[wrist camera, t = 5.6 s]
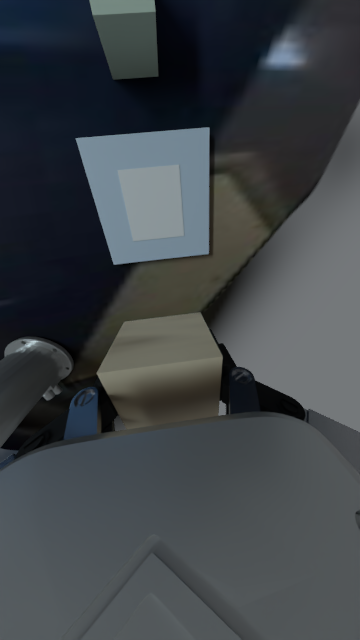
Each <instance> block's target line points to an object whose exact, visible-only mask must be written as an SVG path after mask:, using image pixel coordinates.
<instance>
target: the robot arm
mask: <svg viewBox="0 0 360 640" xmlns="http://www.w3.org/2000/svg"><path fill="white" fill-rule="evenodd" d="M209 331H210V333H211V335H212V337H213V338H214V340H215V342H216V344H217V346H218V348H219V350H220V352H221V354H222V356H223V360H222V373H221V386H220V399H219V401H221V400H222V402H223V403H225V404H226V415H221V416H214V417H207V418H200V419H193V420H186V421H180V422H173V423H166V424H159V425H153V426H146V427H139V428H133V429H126V430H120V431H115V424H114V419H115V418H116V416H117V415H119V414H118V412H117V410H116V409H115V407H114V405H113V403H112V401H111V399H110V398H109V396H108V394H107V392H106V390H105V388H104V386H103V385H102V383H101V381H100V379H99V377H97V379H96V381H95V383H94V385H93V387H88V388H85V389H83V390H82V391H80V392H79V393H78V394H77V395H76V396H75V397H74V398H73V399H72V402H71V404H70V409H68V410H67V411H65V412H64V413H63V414H61V415H60V416H59V417H57V418H56V419H54V420H53V421H52V422H50V423H49V424H47V425H46V426H45V427H43V428H42V429H40V430H39V431H38V432H36V433H35V434H34V435H32V436H31V437H30V438H29V439H28V440H27V441H26V442H25V443H24V444H23V445H22V447H21V448H20V449H19V451H18V453H17V454H16V455H15V454H12V455H10V456H9V457H8V458H6V459H5V460H4V461H2V462H1V463H0V640H360V433H359V432H358V431H356V430H353V429H351V428H349V427H347V426H345V425H343V424H341V423H339V422H336V421H334V420H332V419H330V418H328V417H326V416H324V415H321V414H319V413H317V412H315V411H313V410H310V409H308V410H306V409H304V408H303V407H302V406H301V405H300V403H299V402H297V401H296V400H295V399H293V398H292V397H290V396H287V395H285V394H283V393H281V392H279V391H277V390H274V389H272V388H270V387H268V386H266V385H264V384H262V383H260V382H257V381H255V379H254V376H253V374H252V373H251V372H250V371H249V370H247V369H245V368H242V367H237V366H236V364H235V363H234V361H233V360H232V358H231V356H230V354H229V353H228V351H227V349H226V347H225V346H224V344H222V343H221V344H218V342H217V340H216V338H215V336H214V334H213V333H212V331H211V329H209ZM73 366H74V363H73V359H72V357H71V355H70V354H69V353H68V352H67V351H66V350H65V349H64V348H63V347H62V346H60V345H58V344H57V343H55V342H53V341H50V340H47V339H44V338H39V337H23V338H19V339H17V340H15V341H13V342H12V343H10V344H9V345H8V346H7V347H6V349H5V358H3V359H2V360H1V361H0V447H1V446H2V445H3V443H4V442H5V441H6V440H7V439H8V437H9V436H10V435H11V434H12V432H13V431H14V430H15V429H16V428H17V426H18V425H19V424H20V423H21V421H22V420H23V419H24V418H25V417H26V415H27V414H28V413H29V412H30V410H31V409H32V408H33V407H34V406H35V404H36V403H37V402H38V401H39V399H40V398H41V397H42V396H43V397H44V398H45V399H46V400H50V399H52V398H53V397H54V396H55V394H59V393H60V392H61V391H62V389H61V388H60V386H58V382H59V381H60V380H61V379H64V378H65V377H67V376H68V375H69V374H70V372H71V371H72V369H73Z"/></svg>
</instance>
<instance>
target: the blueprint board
mask: <svg viewBox="0 0 360 640" xmlns="http://www.w3.org/2000/svg"><path fill="white" fill-rule="evenodd" d="M76 141H77V145H78V148H79V151H80V154H81V158H82V161H83V164H84V168H85V171H86V174H87V178H88V181H89V184H90V187H91V191H92V194H93V197H94V201H95V204H96V207H97V211H98V214H99V217H100V221H101V224H102V227H103V230H104V234H105V237H106V240H107V244H108V247H109V250H110V254H111V257H112V260H113V263H114V265H115V264H124V263H133V262H142V261H151V260H160V259H168V258H177V257H186V256H195V255H204V254H209V127H208V128H196V129H183V130H171V131H159V132H147V133H135V134H123V135H111V136H98V137H86V138H76Z"/></svg>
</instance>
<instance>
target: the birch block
mask: <svg viewBox="0 0 360 640" xmlns="http://www.w3.org/2000/svg"><path fill="white" fill-rule="evenodd" d="M222 360H223V356H222V354H221V352H220V350H219V348H218V346H217V344H216V342H215V340H214V338H213V337H212V335H211V333H210V331H209V329H208V327H207V325H206V323H205V321H204V319H203V317H202V315H201V313H192V314H184V315H176V316H168V317H159V318H151V319H143V320H135V321H126V322H124V323H123V325H122V327H121V329H120V331H119V332H118V334H117V336H116V338H115V340H114V342H113V344H112V345H111V347H110V349H109V351H108V353H107V355H106V357H105V358H104V360H103V362H102V364H101V366H100V368H99V370H98V371H97V375H98V377H99V379H100V381H101V383H102V385H103V386H104V388H105V390H106V392H107V394H108V396H109V398H110V399H111V401H112V403H113V405H114V407H115V409H116V410H117V412H118V414H119V416H120V418H121V420H122V421H123V423H124V425H125V427H126V429H133V428H139V427H146V426H153V425H159V424H166V423H173V422H180V421H186V420H193V419H200V418H207V417H214V416H218V412H219V399H220V386H221V373H222Z"/></svg>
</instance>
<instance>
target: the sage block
mask: <svg viewBox="0 0 360 640" xmlns="http://www.w3.org/2000/svg"><path fill="white" fill-rule="evenodd" d="M90 4H91V9H92V14H93V18H94V21H95V24H96V27H97V30H98V33H99V36H100V40H101V43H102V46H103V49H104V52H105V55H106V58H107V62H108V65H109V68H110V71H111V74H112V77H113V80H115V79H129V78H143V77H157V76H158V56H157V34H156V11H155V1H154V0H90Z"/></svg>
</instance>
